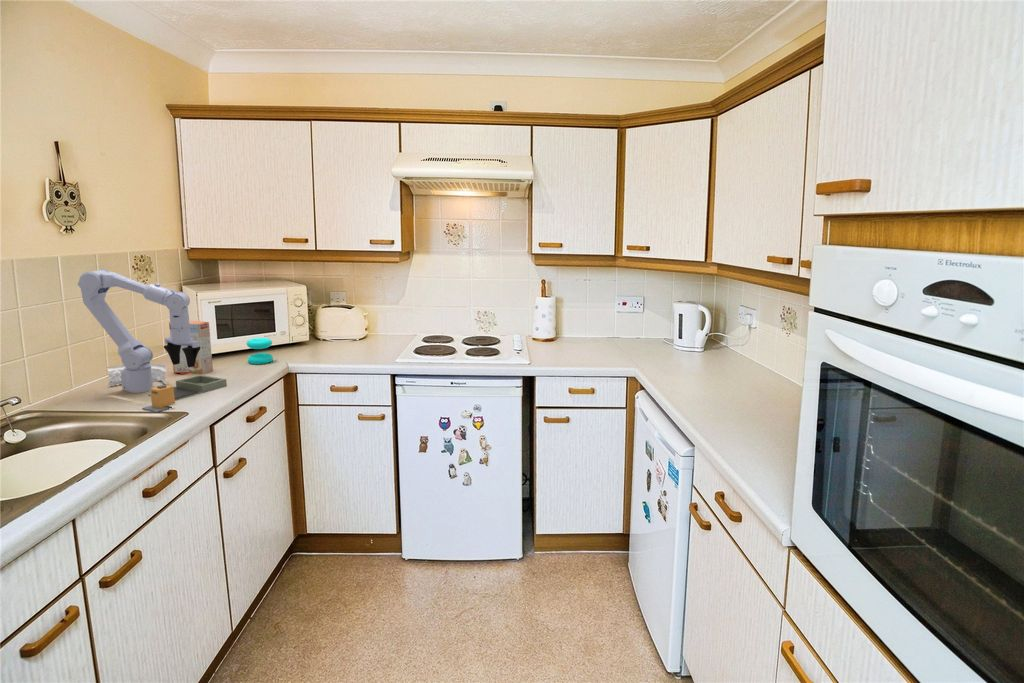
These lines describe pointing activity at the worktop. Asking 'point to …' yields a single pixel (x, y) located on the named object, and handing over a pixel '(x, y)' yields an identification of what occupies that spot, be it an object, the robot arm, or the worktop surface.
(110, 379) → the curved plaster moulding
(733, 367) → the worktop surface
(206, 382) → the grey-green tray
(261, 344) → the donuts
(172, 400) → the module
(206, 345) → the cracker box
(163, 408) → the mat
